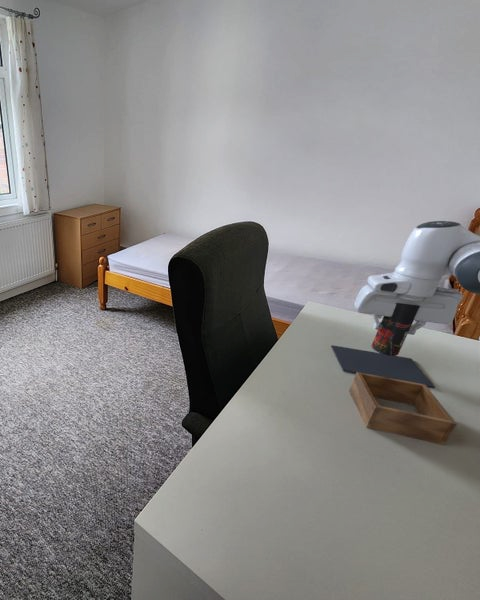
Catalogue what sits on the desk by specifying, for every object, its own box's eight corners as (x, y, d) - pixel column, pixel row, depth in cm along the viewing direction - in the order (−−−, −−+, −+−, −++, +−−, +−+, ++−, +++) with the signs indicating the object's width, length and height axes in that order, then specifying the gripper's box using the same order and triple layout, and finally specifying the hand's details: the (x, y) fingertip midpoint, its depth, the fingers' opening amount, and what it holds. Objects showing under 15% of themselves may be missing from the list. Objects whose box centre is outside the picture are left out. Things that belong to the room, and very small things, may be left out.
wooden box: (415, 404, 83) (425, 384, 81) (444, 445, 72) (457, 424, 69) (349, 390, 88) (356, 371, 86) (366, 427, 77) (375, 406, 74)
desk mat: (410, 359, 100) (411, 358, 100) (434, 388, 89) (435, 386, 88) (331, 346, 107) (331, 345, 107) (343, 371, 96) (343, 369, 95)
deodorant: (373, 342, 99) (392, 295, 93) (399, 349, 96) (421, 301, 89) (369, 349, 96) (389, 301, 89) (397, 358, 92) (419, 308, 86)
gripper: (458, 285, 86) (435, 332, 92) (361, 275, 94) (345, 319, 99) (473, 294, 81) (447, 344, 87) (369, 283, 88) (352, 329, 94)
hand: (392, 331), depth 93 cm, fingers closed on deodorant, 6 cm apart
